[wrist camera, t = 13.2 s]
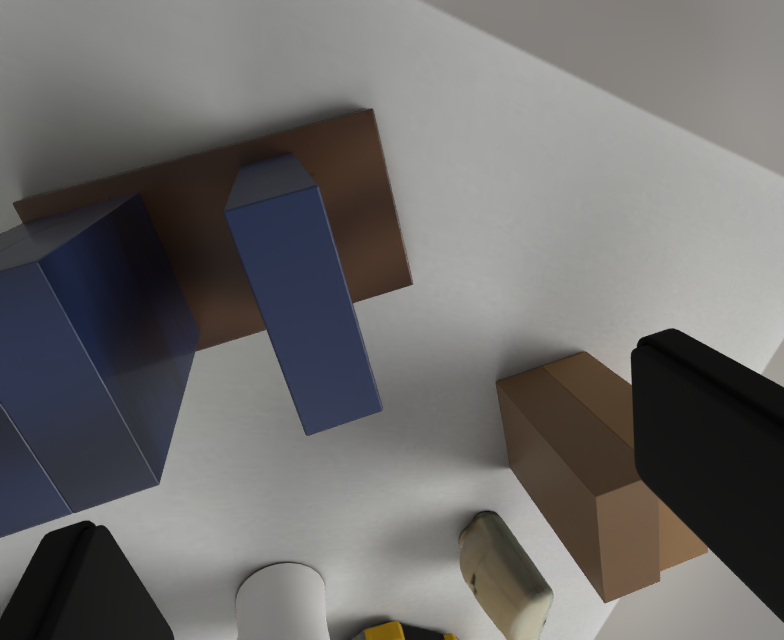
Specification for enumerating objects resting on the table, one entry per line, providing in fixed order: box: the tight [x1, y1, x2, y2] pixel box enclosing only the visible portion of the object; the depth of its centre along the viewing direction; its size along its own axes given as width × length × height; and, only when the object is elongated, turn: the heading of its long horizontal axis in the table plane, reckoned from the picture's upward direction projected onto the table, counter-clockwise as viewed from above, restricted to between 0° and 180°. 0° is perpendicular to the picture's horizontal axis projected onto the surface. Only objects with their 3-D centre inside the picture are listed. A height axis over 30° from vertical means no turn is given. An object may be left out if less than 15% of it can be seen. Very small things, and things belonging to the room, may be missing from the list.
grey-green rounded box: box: [459, 511, 554, 640], centre depth 38 cm, size 6×5×8 cm
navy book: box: [223, 153, 383, 436], centre depth 22 cm, size 8×3×13 cm, turn 13°
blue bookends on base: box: [0, 109, 413, 538], centre depth 22 cm, size 10×18×14 cm, turn 103°
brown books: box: [496, 351, 708, 603], centre depth 33 cm, size 8×7×12 cm
